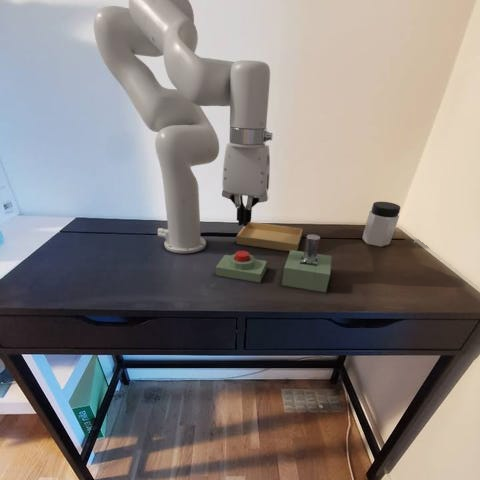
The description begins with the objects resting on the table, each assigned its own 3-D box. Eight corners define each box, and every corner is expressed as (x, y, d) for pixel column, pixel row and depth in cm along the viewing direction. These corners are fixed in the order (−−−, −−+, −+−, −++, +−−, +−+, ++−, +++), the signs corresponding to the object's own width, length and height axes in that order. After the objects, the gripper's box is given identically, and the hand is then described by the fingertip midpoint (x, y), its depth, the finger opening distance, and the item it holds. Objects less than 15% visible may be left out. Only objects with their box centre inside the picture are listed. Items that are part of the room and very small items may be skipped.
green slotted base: (281, 285, 79) (284, 267, 76) (288, 266, 87) (290, 249, 84) (325, 292, 77) (330, 274, 74) (327, 272, 85) (331, 255, 82)
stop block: (215, 275, 82) (215, 261, 79) (224, 262, 88) (224, 249, 86) (260, 282, 79) (261, 268, 77) (266, 269, 86) (267, 255, 83)
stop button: (233, 261, 81) (233, 255, 80) (237, 256, 83) (237, 249, 82) (247, 263, 80) (247, 257, 79) (250, 257, 83) (250, 251, 82)
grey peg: (296, 281, 81) (303, 238, 74) (298, 273, 84) (305, 232, 77) (313, 284, 80) (322, 241, 73) (314, 276, 83) (323, 234, 76)
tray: (236, 243, 99) (236, 235, 97) (247, 228, 110) (247, 221, 109) (296, 252, 95) (297, 244, 94) (301, 236, 106) (302, 228, 105)
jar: (377, 248, 100) (389, 210, 93) (357, 239, 105) (367, 203, 98) (394, 243, 104) (407, 206, 97) (373, 235, 109) (384, 200, 102)
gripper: (286, 138, 67) (276, 223, 77) (218, 133, 69) (219, 215, 80) (280, 142, 61) (271, 233, 72) (207, 136, 64) (209, 225, 75)
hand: (243, 224), depth 76 cm, fingers closed
